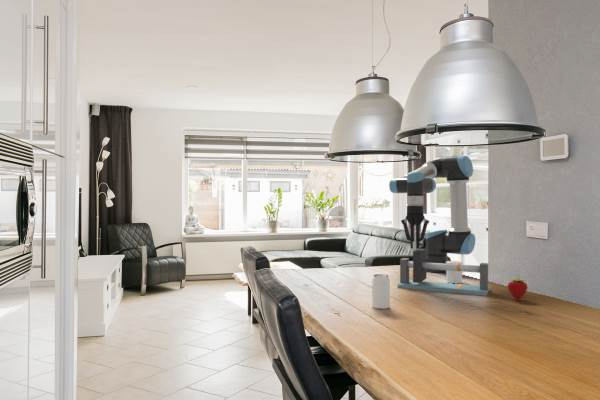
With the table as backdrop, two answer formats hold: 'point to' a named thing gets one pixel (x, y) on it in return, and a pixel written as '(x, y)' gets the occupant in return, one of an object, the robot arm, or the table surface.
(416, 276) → the dark grey square plate
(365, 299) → the table surface
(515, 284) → the strawberry
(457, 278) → the white cup
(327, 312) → the table surface
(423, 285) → the pipe stand
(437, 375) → the table surface
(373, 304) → the can
